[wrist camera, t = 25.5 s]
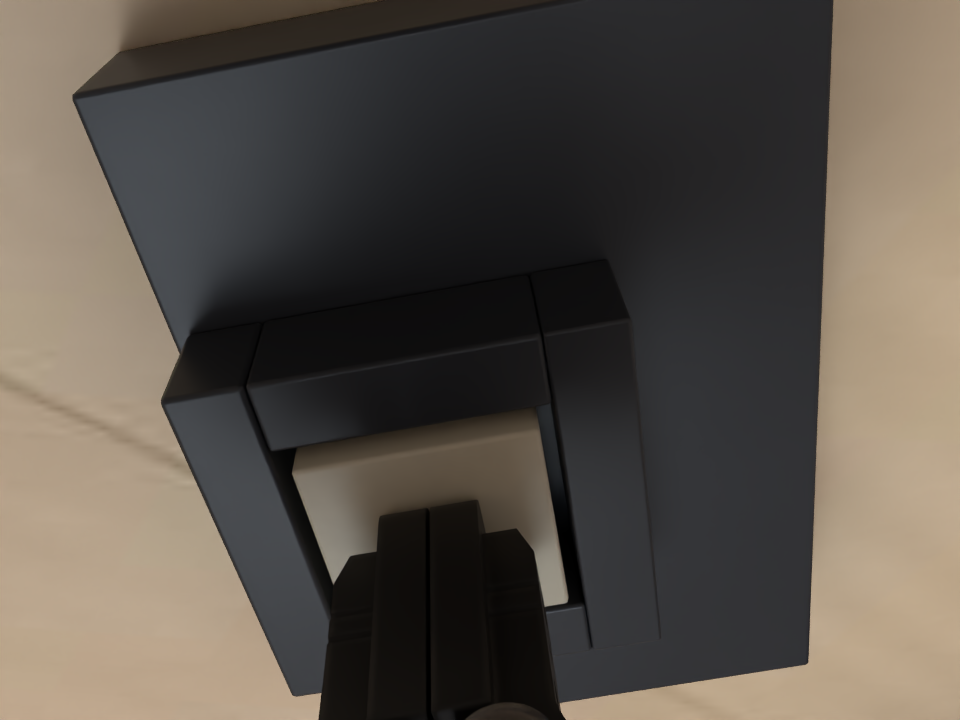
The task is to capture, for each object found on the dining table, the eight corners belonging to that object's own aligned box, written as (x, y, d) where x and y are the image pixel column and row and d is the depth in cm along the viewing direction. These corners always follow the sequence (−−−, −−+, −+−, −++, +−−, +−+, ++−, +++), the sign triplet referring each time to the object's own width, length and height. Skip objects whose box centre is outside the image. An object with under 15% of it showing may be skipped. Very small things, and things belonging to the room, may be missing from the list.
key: (303, 401, 14) (289, 473, 13) (528, 362, 14) (539, 430, 13) (358, 562, 16) (352, 639, 15) (556, 528, 16) (569, 604, 15)
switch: (115, 51, 14) (16, 142, 10) (779, -78, 13) (901, -27, 10) (347, 654, 21) (333, 820, 18) (775, 586, 21) (842, 742, 17)
